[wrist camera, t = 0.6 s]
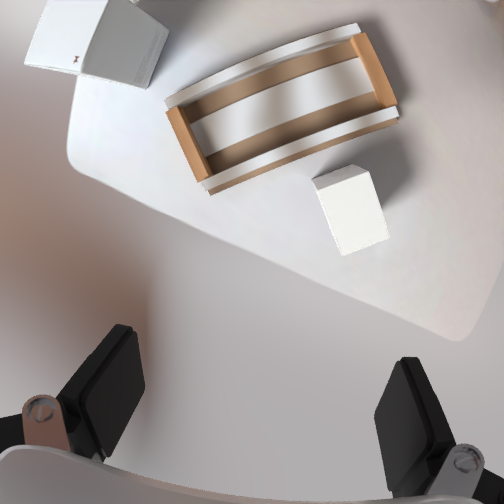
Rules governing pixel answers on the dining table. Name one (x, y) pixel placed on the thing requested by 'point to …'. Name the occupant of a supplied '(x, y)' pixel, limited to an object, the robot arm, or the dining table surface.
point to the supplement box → (98, 41)
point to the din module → (351, 208)
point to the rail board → (282, 107)
